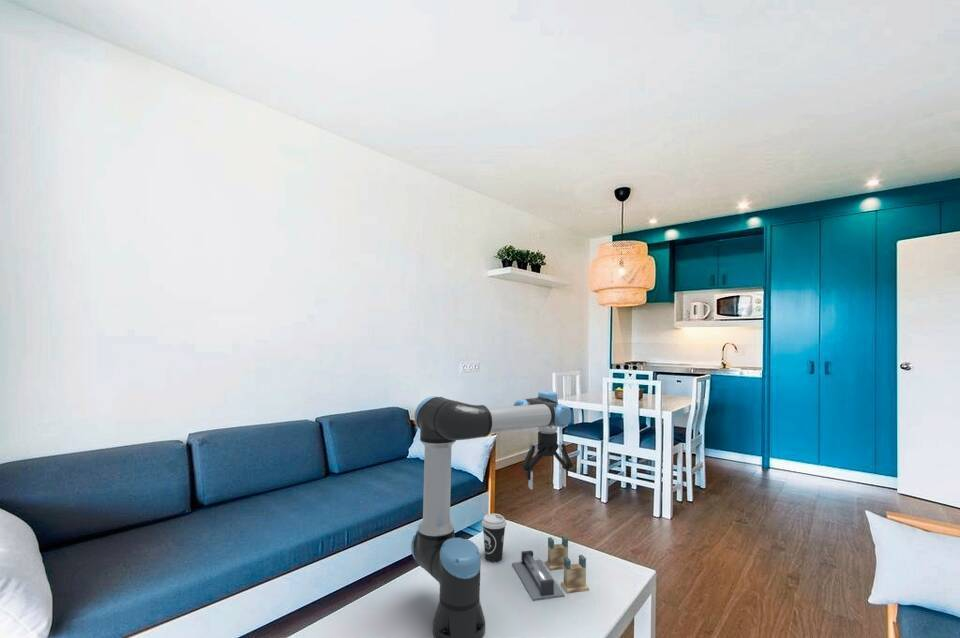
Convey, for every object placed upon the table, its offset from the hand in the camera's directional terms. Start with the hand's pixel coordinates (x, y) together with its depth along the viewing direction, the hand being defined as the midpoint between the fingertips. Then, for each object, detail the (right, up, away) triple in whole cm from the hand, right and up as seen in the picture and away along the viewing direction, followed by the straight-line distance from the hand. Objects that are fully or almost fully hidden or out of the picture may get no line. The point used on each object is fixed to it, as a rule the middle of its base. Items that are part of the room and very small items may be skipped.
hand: (547, 487), depth 163 cm
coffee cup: (-21, -27, -2) cm, 34 cm away
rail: (-6, -25, -16) cm, 31 cm away
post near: (+6, -26, -20) cm, 33 cm away
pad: (-6, -26, -16) cm, 31 cm away
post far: (+3, -27, -6) cm, 27 cm away
